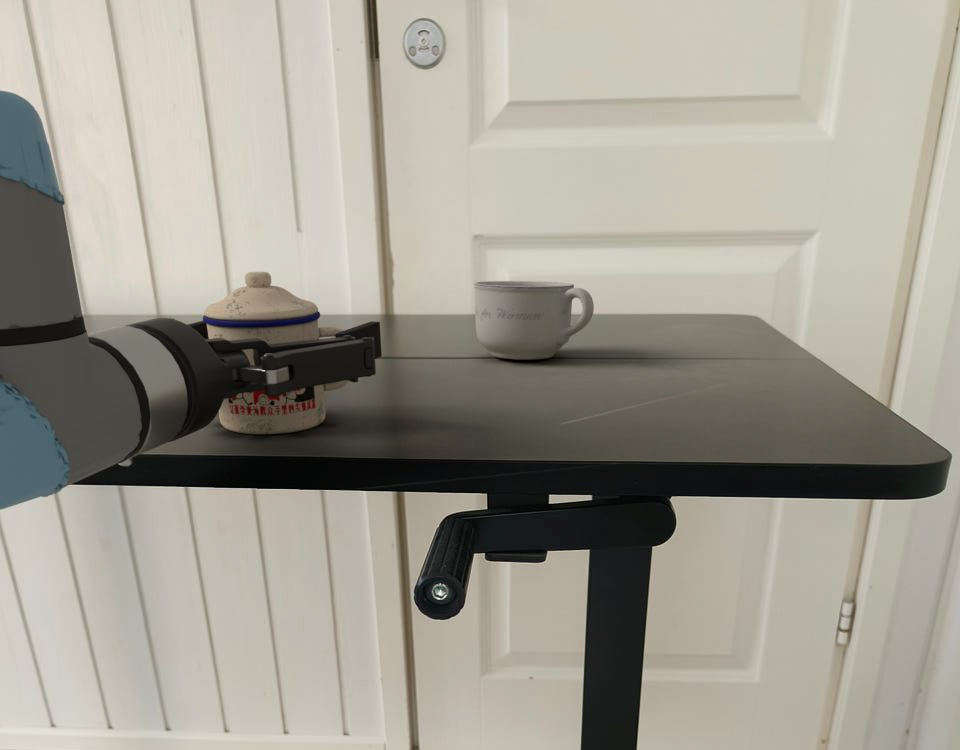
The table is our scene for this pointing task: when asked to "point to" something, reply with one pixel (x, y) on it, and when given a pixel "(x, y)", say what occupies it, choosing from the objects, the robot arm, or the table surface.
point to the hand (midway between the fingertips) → (301, 335)
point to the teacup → (527, 317)
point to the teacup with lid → (273, 322)
